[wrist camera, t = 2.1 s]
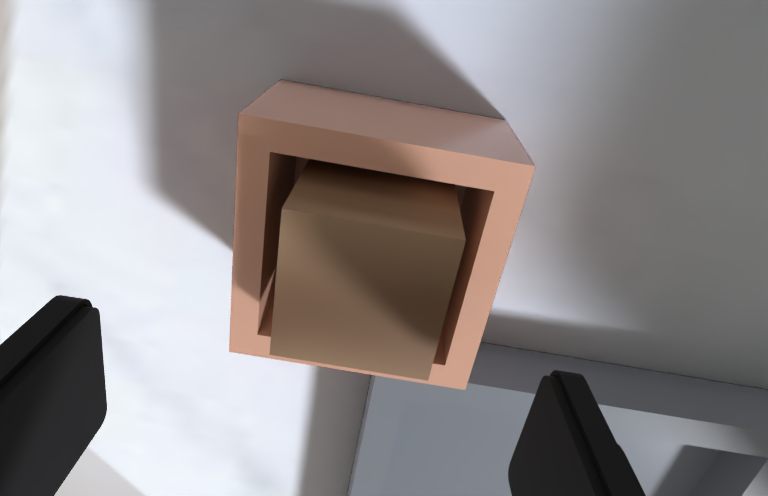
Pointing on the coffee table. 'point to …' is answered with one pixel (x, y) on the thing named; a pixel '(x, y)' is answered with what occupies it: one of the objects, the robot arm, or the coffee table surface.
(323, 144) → the salmon pink square box
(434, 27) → the coffee table surface
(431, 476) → the tray
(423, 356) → the block
